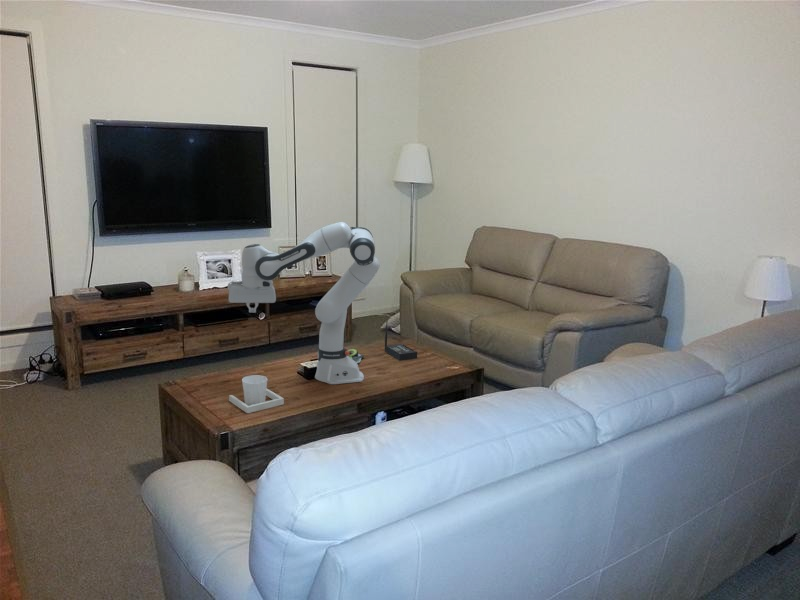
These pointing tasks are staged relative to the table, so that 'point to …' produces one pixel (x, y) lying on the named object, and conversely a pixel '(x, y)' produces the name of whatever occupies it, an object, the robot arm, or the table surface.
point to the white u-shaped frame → (260, 406)
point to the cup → (254, 389)
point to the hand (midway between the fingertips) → (252, 312)
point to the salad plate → (355, 355)
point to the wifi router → (399, 350)
